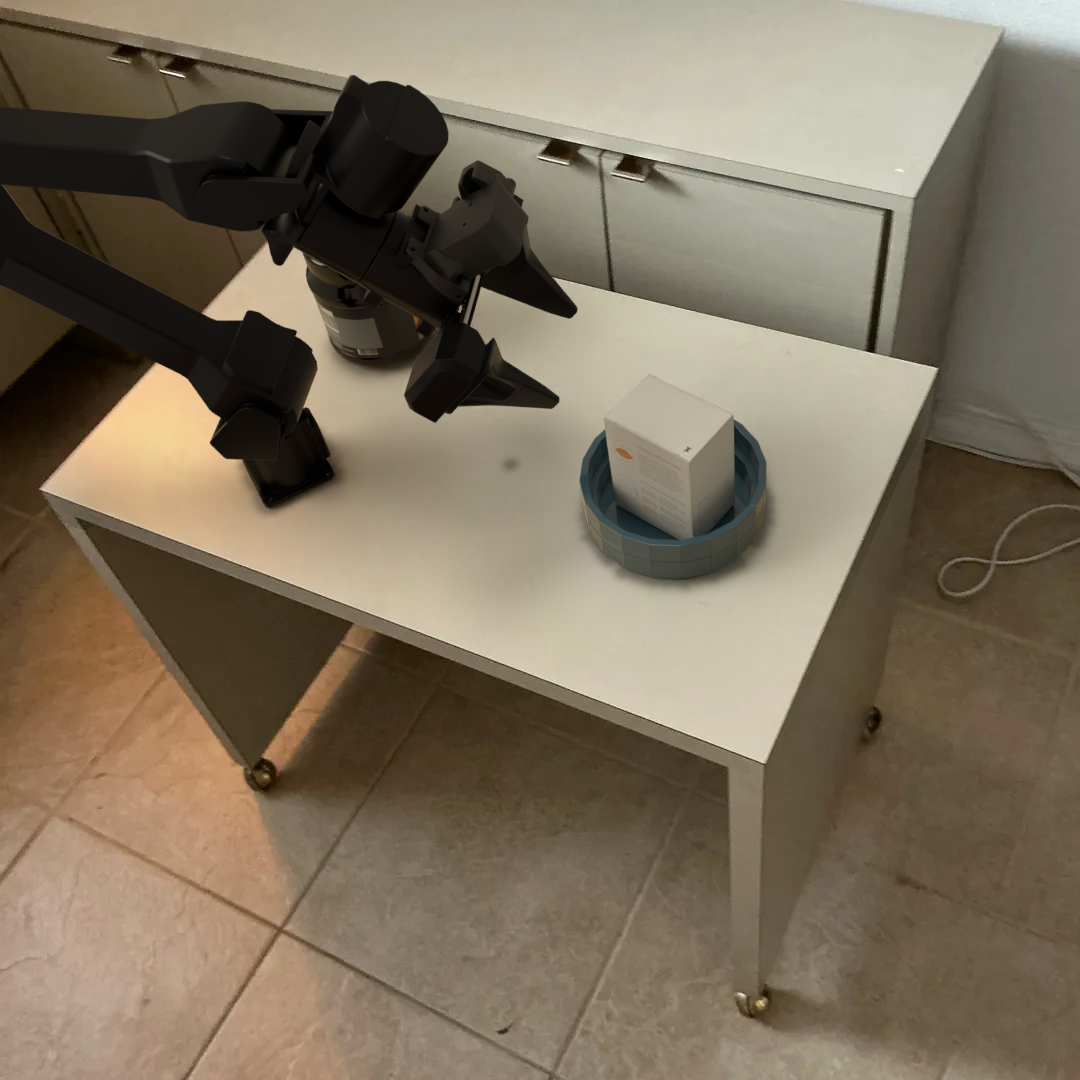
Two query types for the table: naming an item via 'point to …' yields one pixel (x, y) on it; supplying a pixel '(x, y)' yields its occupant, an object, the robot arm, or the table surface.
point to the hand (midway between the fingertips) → (565, 357)
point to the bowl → (655, 548)
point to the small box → (671, 458)
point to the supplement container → (362, 321)
